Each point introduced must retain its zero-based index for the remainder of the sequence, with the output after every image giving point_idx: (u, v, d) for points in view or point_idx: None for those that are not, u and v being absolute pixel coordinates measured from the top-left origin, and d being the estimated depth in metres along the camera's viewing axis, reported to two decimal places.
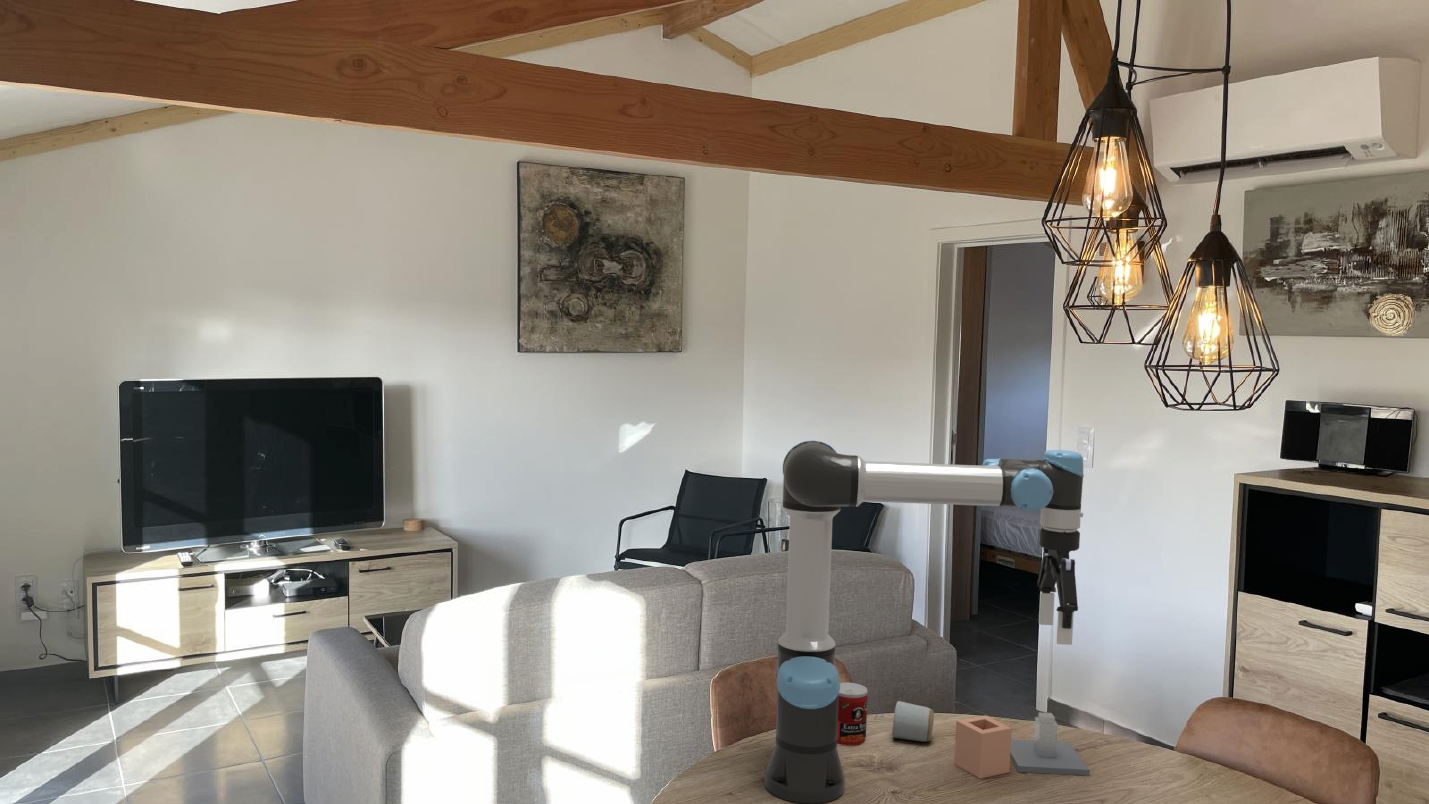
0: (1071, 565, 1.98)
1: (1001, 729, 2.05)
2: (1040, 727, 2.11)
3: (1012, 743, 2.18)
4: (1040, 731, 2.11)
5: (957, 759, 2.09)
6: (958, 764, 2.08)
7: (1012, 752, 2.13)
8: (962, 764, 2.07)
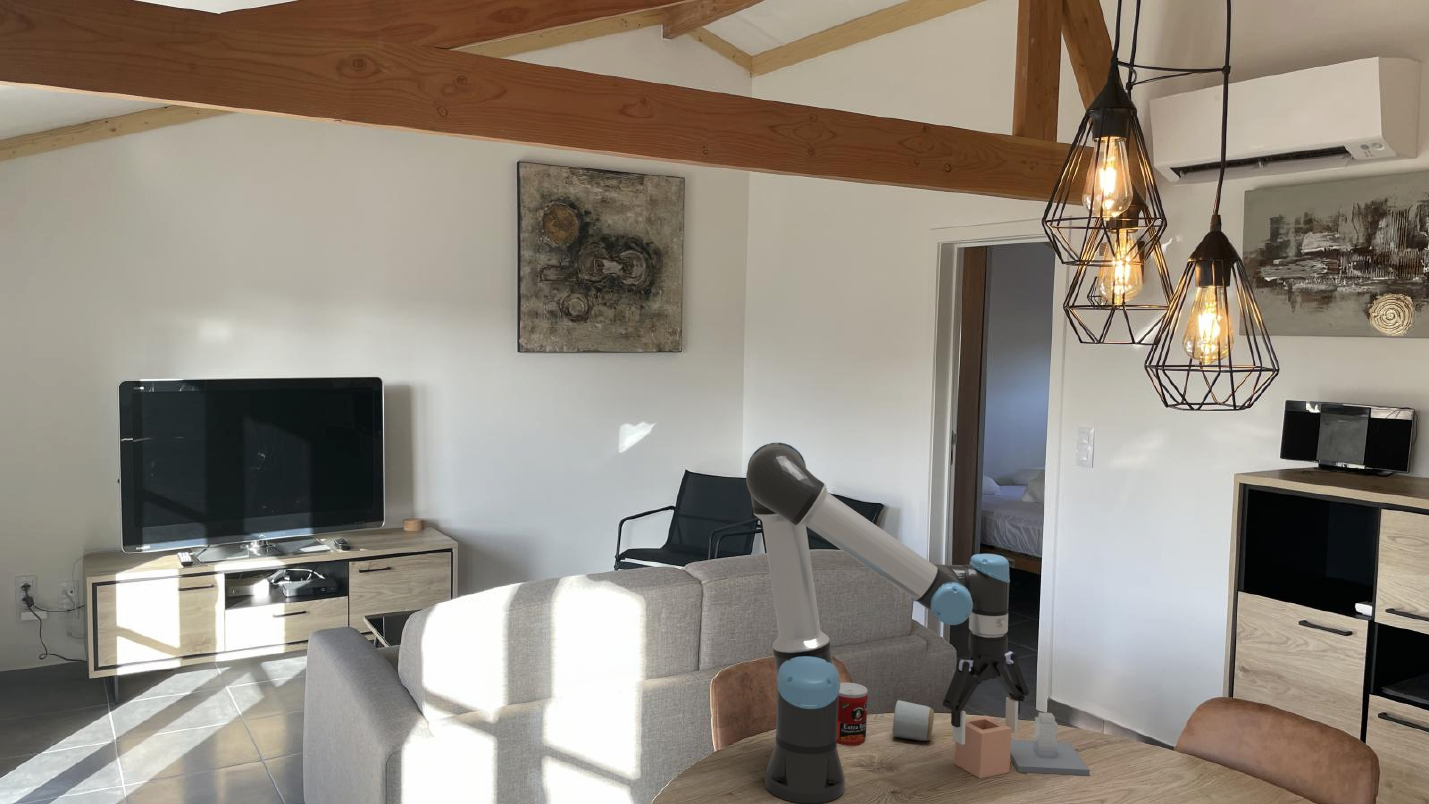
0: (962, 667, 2.03)
1: (1001, 729, 2.05)
2: (1040, 727, 2.11)
3: (1012, 743, 2.18)
4: (1040, 731, 2.11)
5: (957, 759, 2.09)
6: (958, 764, 2.08)
7: (1012, 752, 2.13)
8: (962, 764, 2.07)
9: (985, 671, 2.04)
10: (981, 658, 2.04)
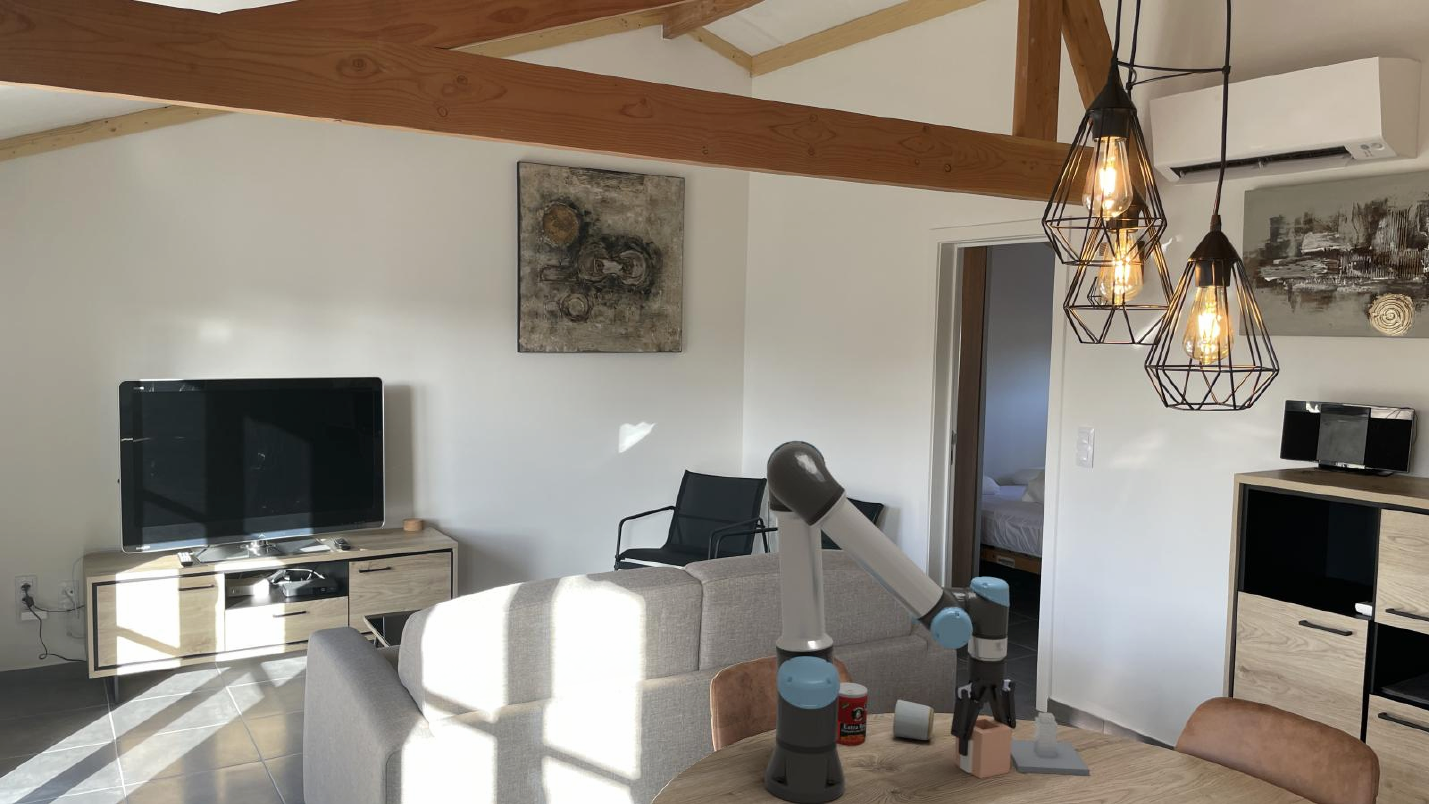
0: (961, 695, 2.03)
1: (1001, 729, 2.05)
2: (1040, 727, 2.11)
3: (1012, 743, 2.18)
4: (1040, 731, 2.11)
5: (957, 759, 2.09)
6: (958, 764, 2.08)
7: (1012, 752, 2.13)
8: None
9: (984, 695, 2.04)
10: (978, 681, 2.04)
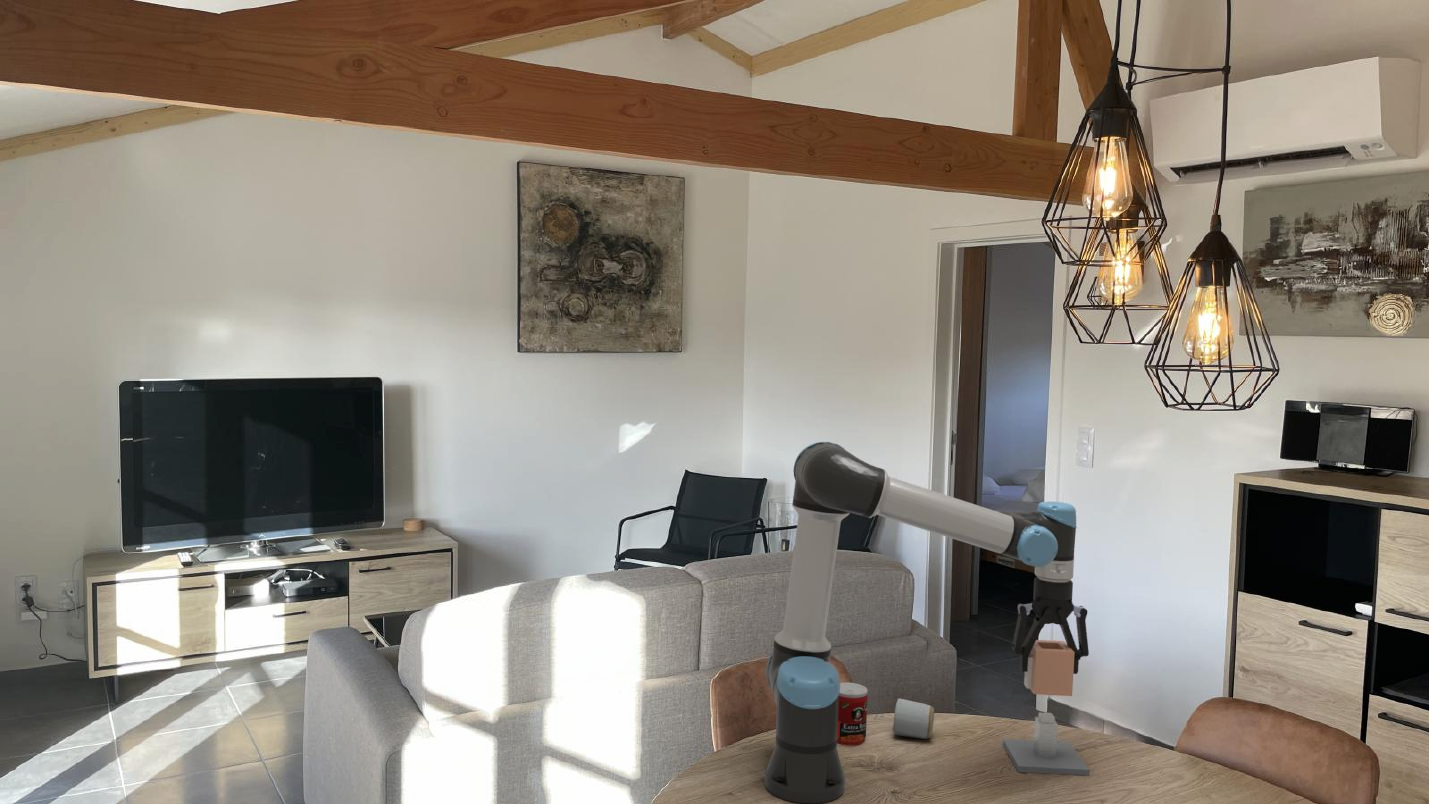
0: (1019, 611, 2.11)
1: (1062, 651, 2.08)
2: (1040, 727, 2.11)
3: (1012, 743, 2.18)
4: (1040, 731, 2.11)
5: None
6: None
7: (1012, 752, 2.13)
8: None
9: (1045, 615, 2.09)
10: (1039, 600, 2.10)
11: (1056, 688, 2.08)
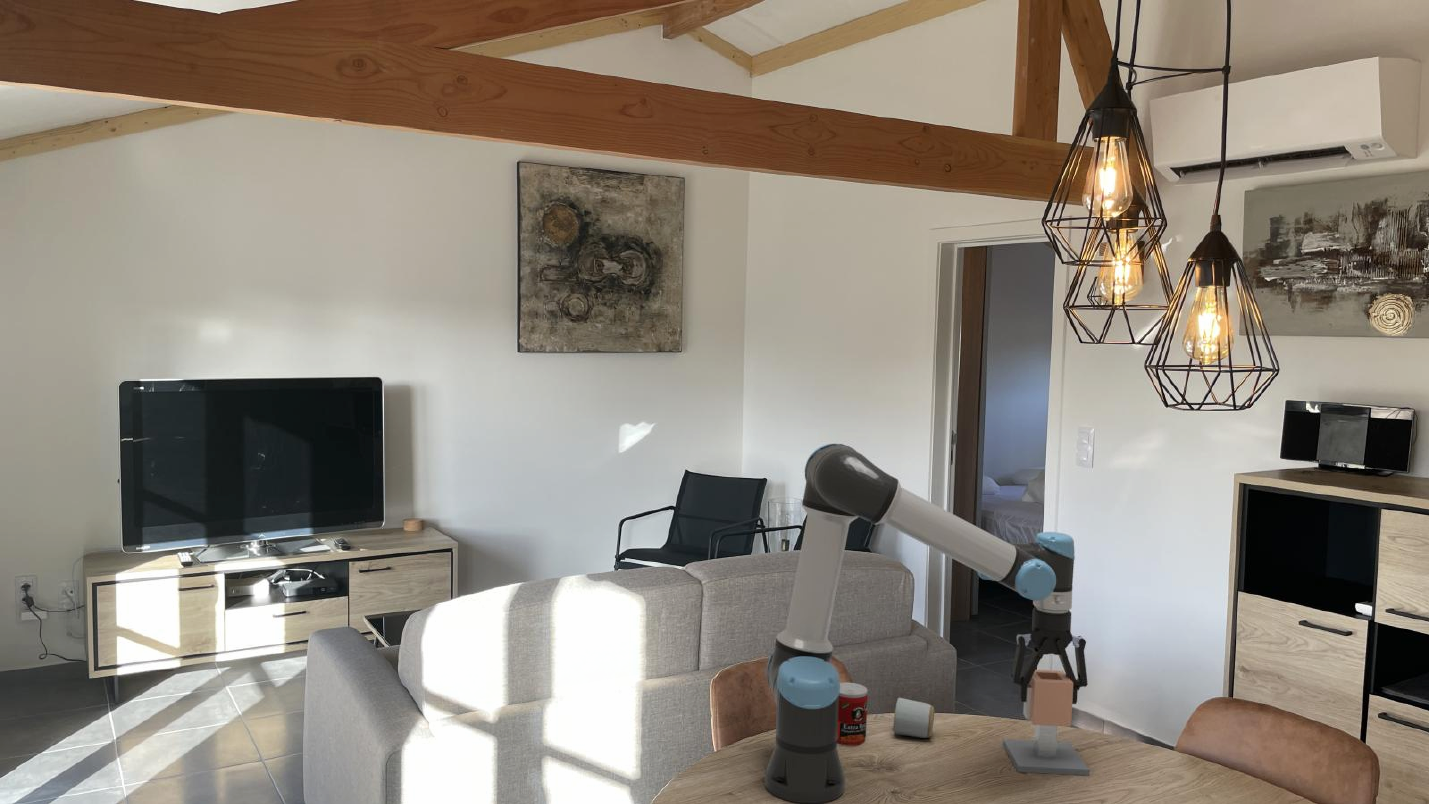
0: (1018, 642, 2.11)
1: (1061, 682, 2.08)
2: (1040, 727, 2.11)
3: (1012, 743, 2.18)
4: (1040, 731, 2.11)
5: None
6: None
7: (1012, 752, 2.13)
8: None
9: (1043, 646, 2.10)
10: (1037, 631, 2.10)
11: (1055, 719, 2.08)
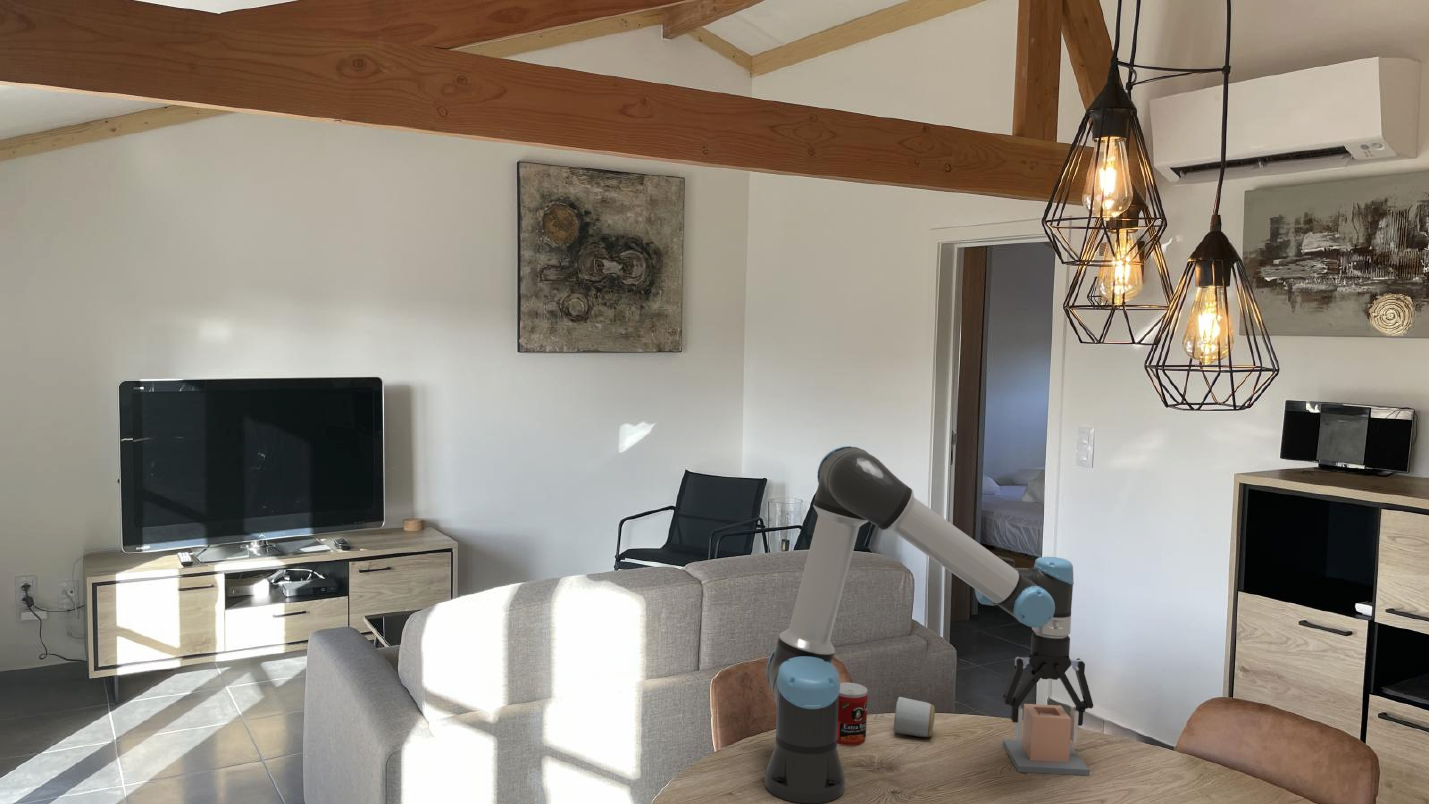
0: (1016, 664, 2.11)
1: (1058, 717, 2.09)
2: None
3: (1012, 743, 2.18)
4: None
5: (1022, 741, 2.16)
6: (1023, 746, 2.16)
7: (1012, 752, 2.13)
8: (1024, 746, 2.15)
9: (1041, 670, 2.10)
10: (1037, 656, 2.11)
11: (1053, 754, 2.09)
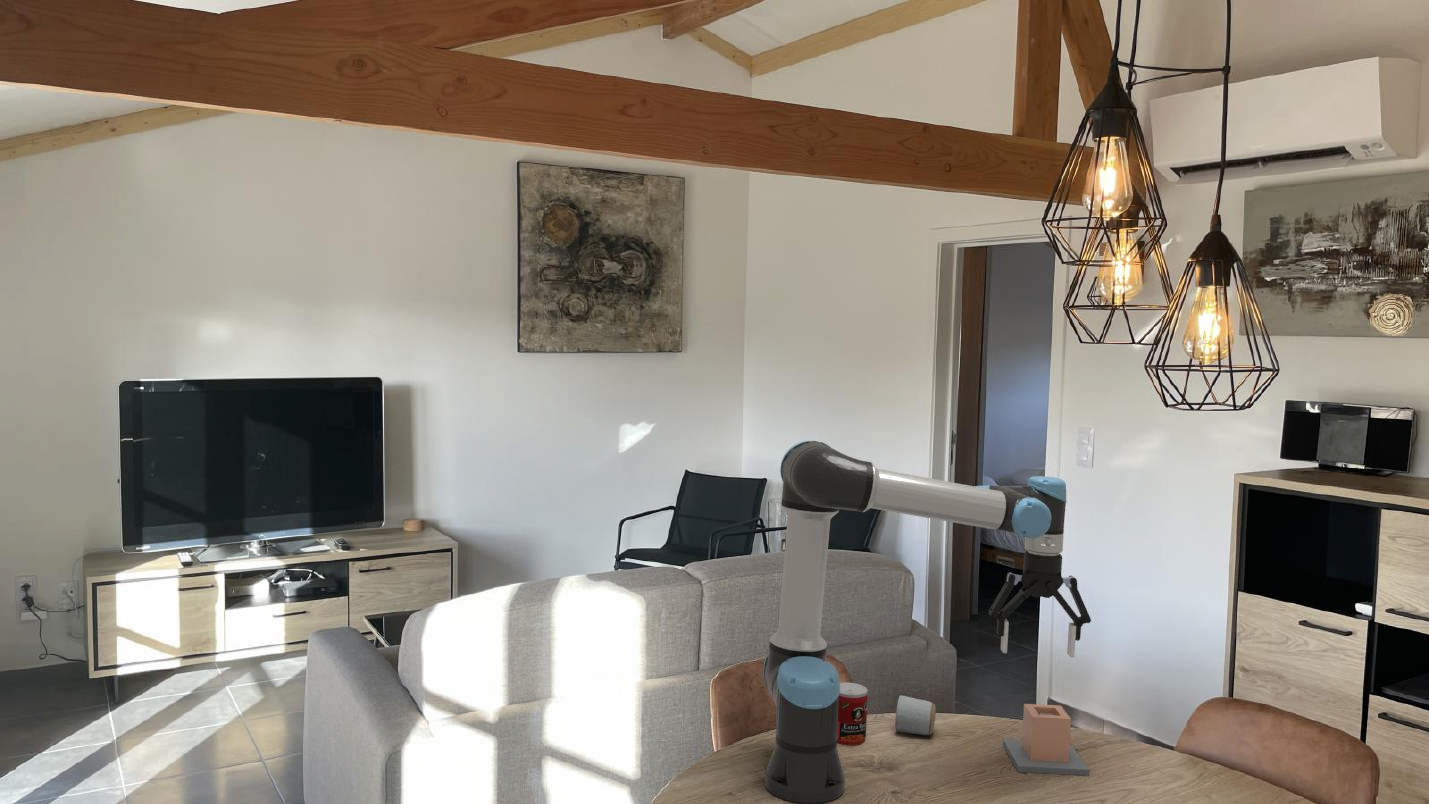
0: (1008, 579, 2.13)
1: (1058, 717, 2.09)
2: None
3: (1012, 743, 2.18)
4: None
5: (1022, 741, 2.16)
6: (1023, 746, 2.16)
7: (1012, 752, 2.13)
8: (1024, 746, 2.15)
9: (1033, 587, 2.11)
10: (1030, 574, 2.12)
11: (1053, 754, 2.09)
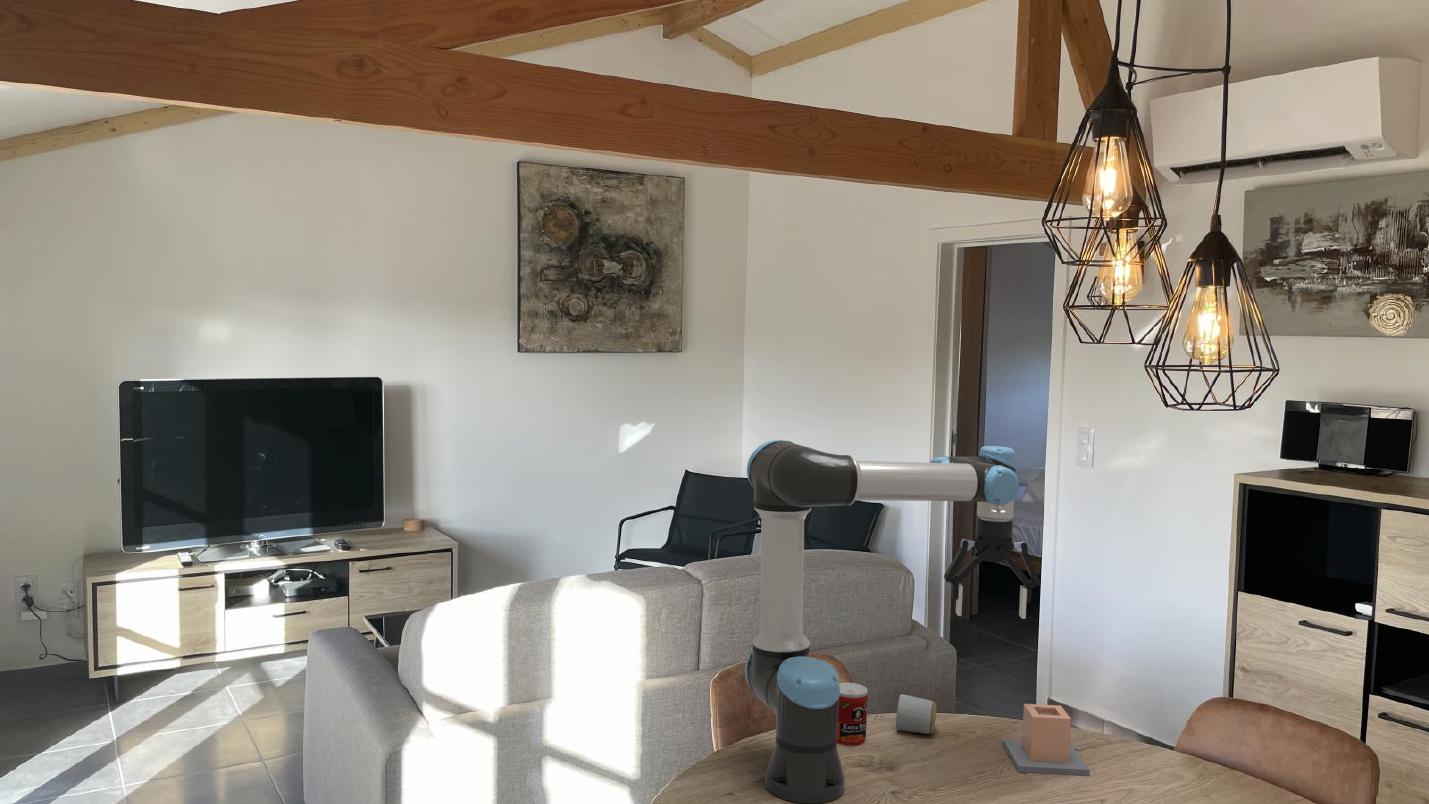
0: (961, 544, 2.22)
1: (1058, 717, 2.09)
2: None
3: (1012, 743, 2.18)
4: None
5: (1022, 741, 2.16)
6: (1023, 746, 2.16)
7: (1012, 752, 2.13)
8: (1024, 746, 2.15)
9: (985, 552, 2.20)
10: (982, 540, 2.21)
11: (1053, 754, 2.09)
